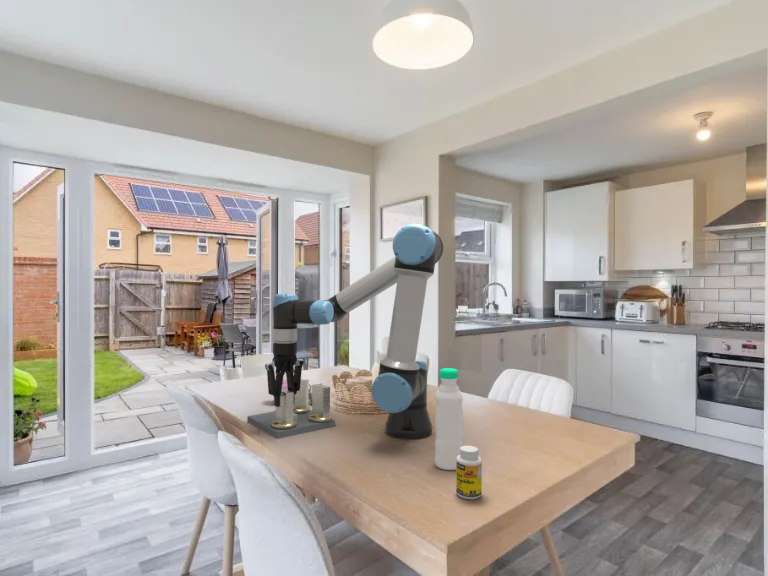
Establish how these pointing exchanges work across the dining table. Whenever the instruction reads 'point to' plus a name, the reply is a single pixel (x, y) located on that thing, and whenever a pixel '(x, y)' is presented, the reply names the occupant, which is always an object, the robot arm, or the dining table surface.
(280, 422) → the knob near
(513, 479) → the dining table surface
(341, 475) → the dining table surface
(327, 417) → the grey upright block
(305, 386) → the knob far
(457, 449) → the water bottle
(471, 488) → the supplement bottle
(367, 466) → the dining table surface
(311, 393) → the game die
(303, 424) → the board
